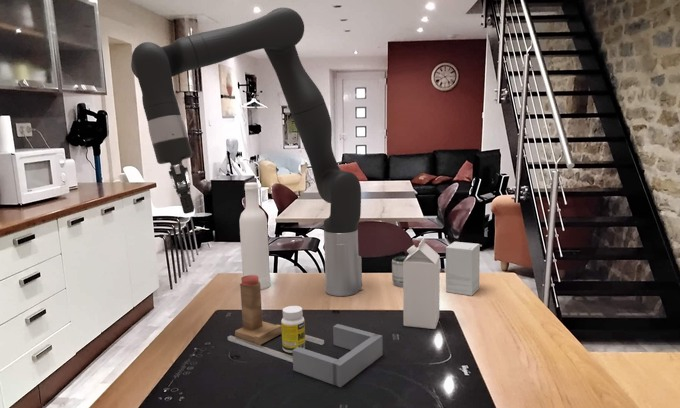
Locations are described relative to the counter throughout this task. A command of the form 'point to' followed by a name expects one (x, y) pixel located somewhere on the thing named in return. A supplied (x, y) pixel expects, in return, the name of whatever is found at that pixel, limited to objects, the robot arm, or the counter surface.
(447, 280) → the supplement box
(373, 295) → the counter surface
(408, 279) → the milk carton
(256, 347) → the track
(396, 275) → the camera lens
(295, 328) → the supplement bottle
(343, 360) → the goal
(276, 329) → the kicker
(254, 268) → the bottle
